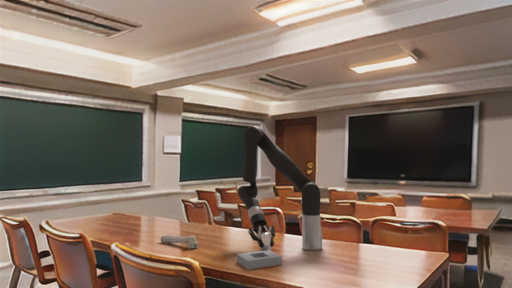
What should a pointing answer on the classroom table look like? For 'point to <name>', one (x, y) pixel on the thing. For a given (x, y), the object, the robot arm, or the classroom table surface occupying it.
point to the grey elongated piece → (180, 240)
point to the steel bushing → (265, 241)
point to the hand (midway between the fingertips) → (267, 246)
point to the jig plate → (259, 259)
